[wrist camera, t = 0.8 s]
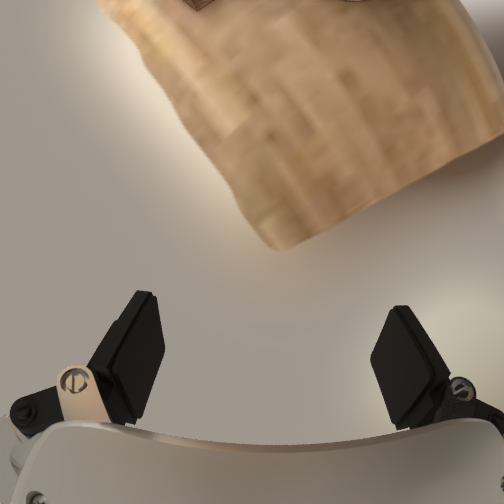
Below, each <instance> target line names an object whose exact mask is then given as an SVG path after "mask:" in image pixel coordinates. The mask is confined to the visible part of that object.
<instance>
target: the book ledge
mask: <svg viewBox="0 0 504 504" xmlns="http://www.w3.org/2000/svg"><path fill="white" fill-rule="evenodd" d="M184 1H185V2H186V3H187V4H189V5H190V6H191V7H192V8H194V9H195V10H196V11H199V10H200V9H201V8H203V7H204V6H206V5H207V4H209V3H210V2H212V1H214V0H201V1H199V0H184Z"/></svg>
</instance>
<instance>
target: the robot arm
mask: <svg viewBox="0 0 504 504" xmlns="http://www.w3.org/2000/svg"><path fill="white" fill-rule="evenodd" d="M348 1H362V0H348ZM164 353H165V343H164V338H163V333H162V328H161V321H160V315H159V309H158V303H157V298H156V296H153V294H152V292H148V291H139V290H138V291H136V292H135V294H134V295H133V297H132V299H131V300H130V302H129V303H128V305H127V306H126V308H125V309H124V311H123V312H122V314H121V315H120V317H119V319H118V320H116V321H114V322H113V324H112V325H111V327H110V328H109V330H108V332H107V333H106V335H105V336H104V338H103V340H102V341H101V343H100V345H99V346H98V348H97V349H96V351H95V353H94V354H93V356H92V358H91V360H90V361H89V363H88V365H87V366H86V367H85V366H82V365H72V366H69V367H67V368H65V369H64V370H62V371H61V372H60V374H59V375H58V377H57V380H56V386H54V387H51V388H48V389H45V390H42V391H39V392H37V393H34V394H31V395H28V396H25V397H22V398H20V399H18V400H16V401H15V402H14V403H13V405H12V407H11V410H10V416H8V417H7V416H6V415H4V416H2V417H1V418H0V502H1V504H504V413H503V412H502V411H500V410H498V409H497V408H494V407H492V406H490V405H488V404H486V403H484V402H482V401H480V400H478V399H476V389H475V387H474V385H473V384H472V383H471V382H470V381H469V380H467V379H466V378H464V377H454V378H452V379H451V380H450V379H449V376H450V374H451V373H450V371H449V369H448V367H447V366H446V364H445V362H444V361H443V359H442V357H441V355H440V354H439V352H438V350H437V349H436V347H435V346H434V344H433V342H432V341H431V339H430V338H429V336H428V334H427V333H426V331H425V330H424V328H423V327H422V325H421V324H420V322H419V321H418V319H417V318H416V316H415V315H414V313H413V312H412V310H411V309H410V307H409V306H407V305H403V306H401V305H399V306H394V307H393V309H391V310H390V311H389V314H388V316H387V319H386V321H385V324H384V326H383V329H382V331H381V333H380V336H379V338H378V341H377V343H376V345H375V347H374V350H373V352H372V354H371V357H370V358H371V359H370V361H371V365H372V368H373V370H374V373H375V375H376V378H377V381H378V384H379V387H380V390H381V392H382V395H383V398H384V401H385V404H386V407H387V410H388V413H389V416H390V419H391V422H392V423H393V424H395V426H396V429H397V430H401V429H405V428H408V427H409V428H410V430H406V431H402V432H397V433H392V434H387V435H382V436H376V437H370V438H364V439H357V440H350V441H342V442H333V443H320V444H302V445H252V444H235V443H223V442H213V441H204V440H197V439H189V438H184V437H178V436H171V435H165V434H160V433H155V432H150V431H146V430H141V429H137V428H132V427H127V426H125V423H130V424H134V425H135V424H136V421H137V418H139V419H140V418H141V417H142V415H143V413H144V410H145V407H146V403H147V401H148V398H149V395H150V392H151V389H152V386H153V384H154V380H155V378H156V375H157V372H158V370H159V367H160V364H161V361H162V359H163V356H164Z"/></svg>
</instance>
